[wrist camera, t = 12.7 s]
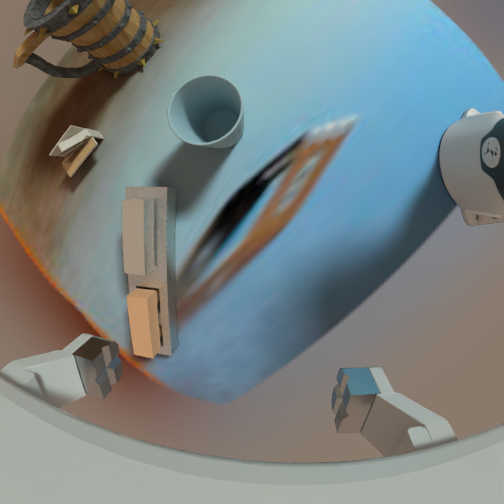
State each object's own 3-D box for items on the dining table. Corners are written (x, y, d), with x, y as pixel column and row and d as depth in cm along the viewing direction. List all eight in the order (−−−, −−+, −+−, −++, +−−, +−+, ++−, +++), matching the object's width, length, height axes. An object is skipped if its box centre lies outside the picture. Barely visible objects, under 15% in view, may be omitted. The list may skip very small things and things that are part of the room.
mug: (182, 42, 32) (123, -35, 13) (97, 116, 36) (2, 89, 16) (145, 5, 31) (88, -58, 11) (70, 72, 34) (-9, 40, 14)
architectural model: (110, 145, 37) (81, 139, 30) (84, 177, 38) (54, 177, 31) (100, 131, 37) (71, 123, 29) (74, 162, 38) (44, 161, 31)
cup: (258, 149, 35) (250, 134, 25) (201, 163, 36) (173, 154, 26) (246, 97, 34) (234, 66, 24) (191, 111, 35) (162, 87, 25)
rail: (176, 186, 37) (155, 187, 30) (178, 344, 42) (163, 369, 36) (137, 186, 37) (112, 187, 31) (144, 338, 43) (126, 360, 36)
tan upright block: (166, 281, 40) (147, 298, 33) (169, 335, 42) (153, 358, 35) (148, 279, 40) (126, 295, 34) (152, 332, 42) (134, 354, 36)
